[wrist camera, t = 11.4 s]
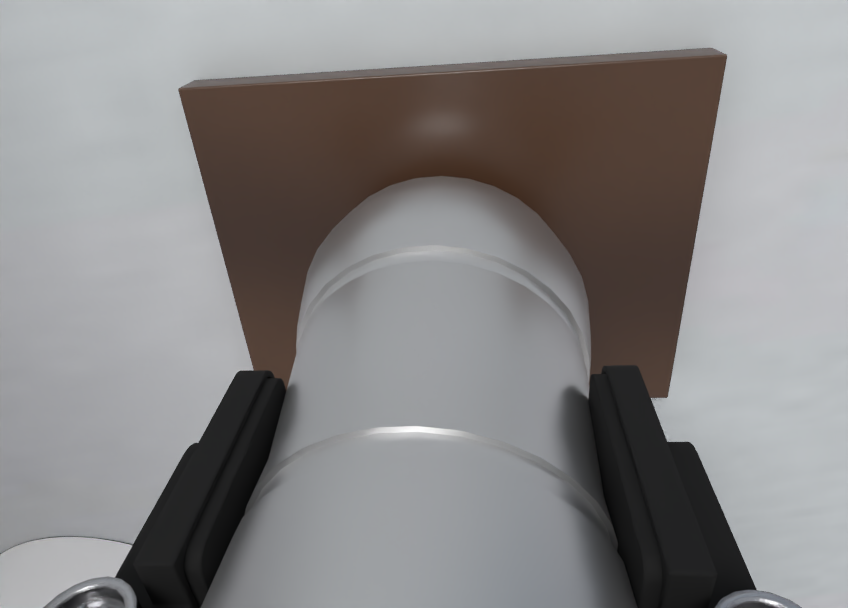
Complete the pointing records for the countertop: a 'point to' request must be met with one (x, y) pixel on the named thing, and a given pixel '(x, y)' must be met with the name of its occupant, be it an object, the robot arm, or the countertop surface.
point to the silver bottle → (433, 421)
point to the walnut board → (470, 176)
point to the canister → (55, 568)
